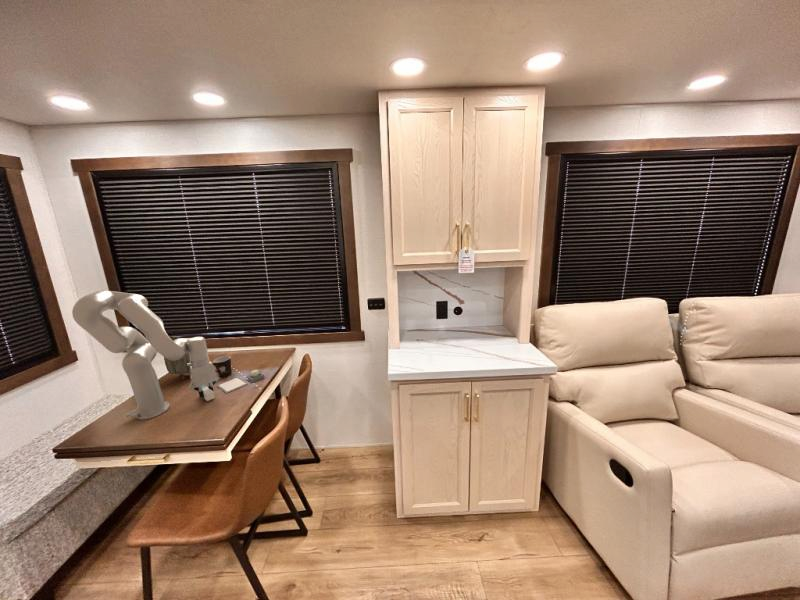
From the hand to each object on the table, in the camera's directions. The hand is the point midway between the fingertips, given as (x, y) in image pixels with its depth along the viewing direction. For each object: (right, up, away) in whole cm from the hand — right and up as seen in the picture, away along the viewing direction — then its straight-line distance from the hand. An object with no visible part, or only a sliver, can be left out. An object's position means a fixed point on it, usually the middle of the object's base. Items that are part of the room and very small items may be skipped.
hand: (207, 395), depth 152 cm
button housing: (+17, +4, +17) cm, 24 cm away
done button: (+17, +5, +17) cm, 24 cm away
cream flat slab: (+7, +2, +11) cm, 13 cm away
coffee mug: (-6, +4, +24) cm, 26 cm away
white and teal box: (0, 0, 0) cm, 1 cm away
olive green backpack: (-28, +3, +25) cm, 38 cm away
